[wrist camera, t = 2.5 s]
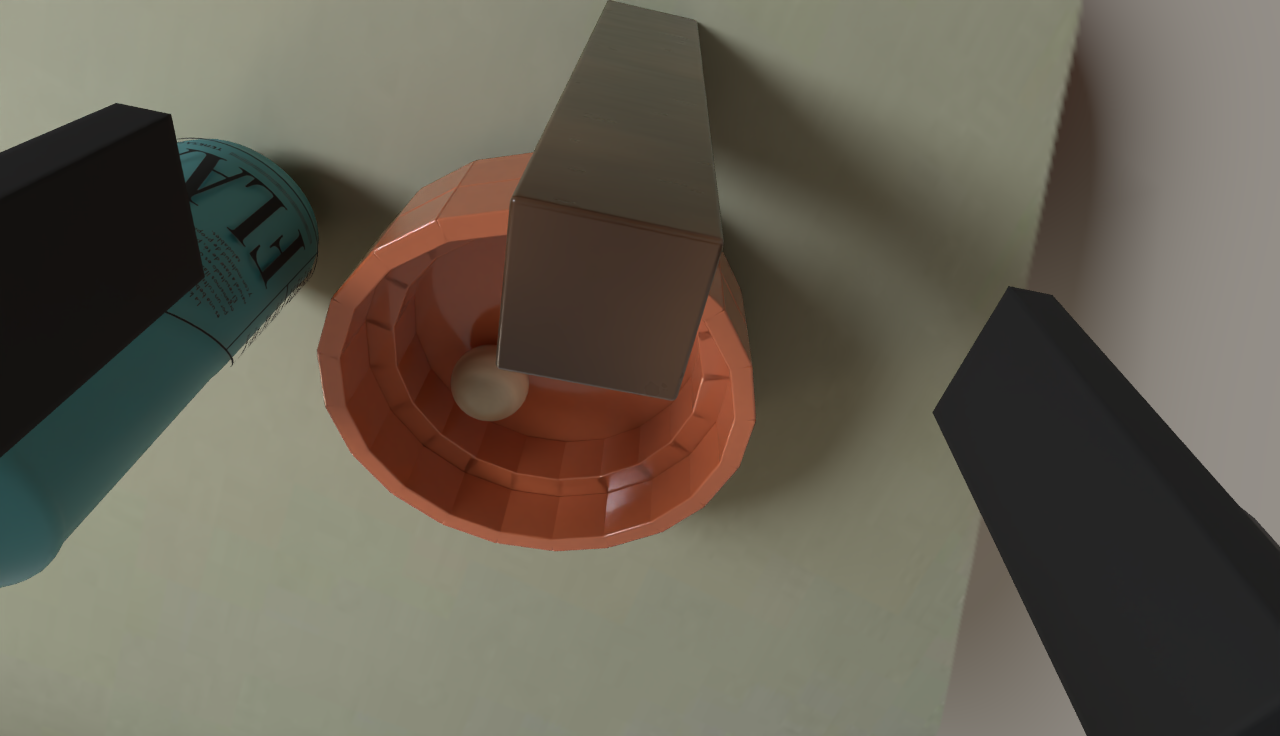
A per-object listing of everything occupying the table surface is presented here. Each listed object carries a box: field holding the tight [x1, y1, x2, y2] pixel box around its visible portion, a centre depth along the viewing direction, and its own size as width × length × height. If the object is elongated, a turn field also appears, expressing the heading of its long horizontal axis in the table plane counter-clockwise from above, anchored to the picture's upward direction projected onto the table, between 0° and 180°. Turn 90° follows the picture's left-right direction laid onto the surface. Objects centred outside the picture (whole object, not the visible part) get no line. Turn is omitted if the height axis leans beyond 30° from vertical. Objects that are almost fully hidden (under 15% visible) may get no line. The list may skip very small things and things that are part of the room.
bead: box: [451, 345, 529, 421], centre depth 28 cm, size 3×3×3 cm
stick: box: [495, 0, 724, 401], centre depth 17 cm, size 3×3×16 cm
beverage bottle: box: [0, 138, 319, 588], centre depth 19 cm, size 6×7×20 cm
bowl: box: [317, 153, 756, 551], centre depth 27 cm, size 16×16×6 cm
